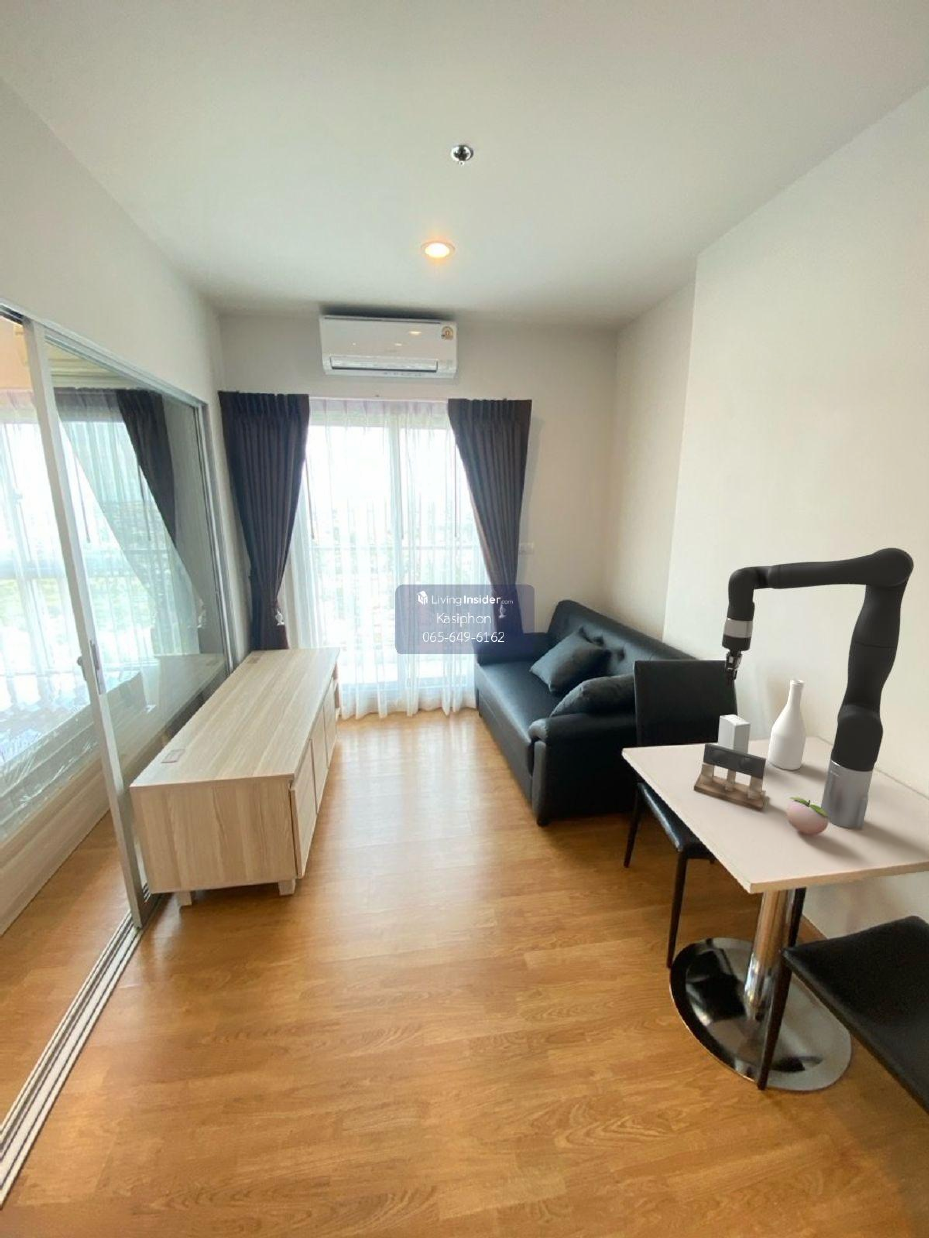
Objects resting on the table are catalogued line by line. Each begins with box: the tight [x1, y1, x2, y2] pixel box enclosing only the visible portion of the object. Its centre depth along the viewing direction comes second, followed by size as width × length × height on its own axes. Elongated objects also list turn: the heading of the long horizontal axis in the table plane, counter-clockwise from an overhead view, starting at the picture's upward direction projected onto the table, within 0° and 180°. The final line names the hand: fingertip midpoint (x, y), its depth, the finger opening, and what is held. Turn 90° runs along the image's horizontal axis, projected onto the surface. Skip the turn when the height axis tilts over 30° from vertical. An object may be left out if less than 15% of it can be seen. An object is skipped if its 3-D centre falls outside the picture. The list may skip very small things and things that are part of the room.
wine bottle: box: [767, 678, 807, 771], centre depth 157 cm, size 10×10×30 cm
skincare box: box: [717, 714, 751, 754], centre depth 163 cm, size 8×6×15 cm
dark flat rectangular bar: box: [702, 742, 767, 780], centre depth 142 cm, size 16×2×6 cm, turn 53°
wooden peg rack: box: [693, 761, 767, 813], centre depth 144 cm, size 18×10×8 cm, turn 53°
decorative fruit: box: [785, 796, 829, 836], centre depth 125 cm, size 9×8×10 cm
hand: (730, 683), depth 147 cm, fingers open, 8 cm apart
